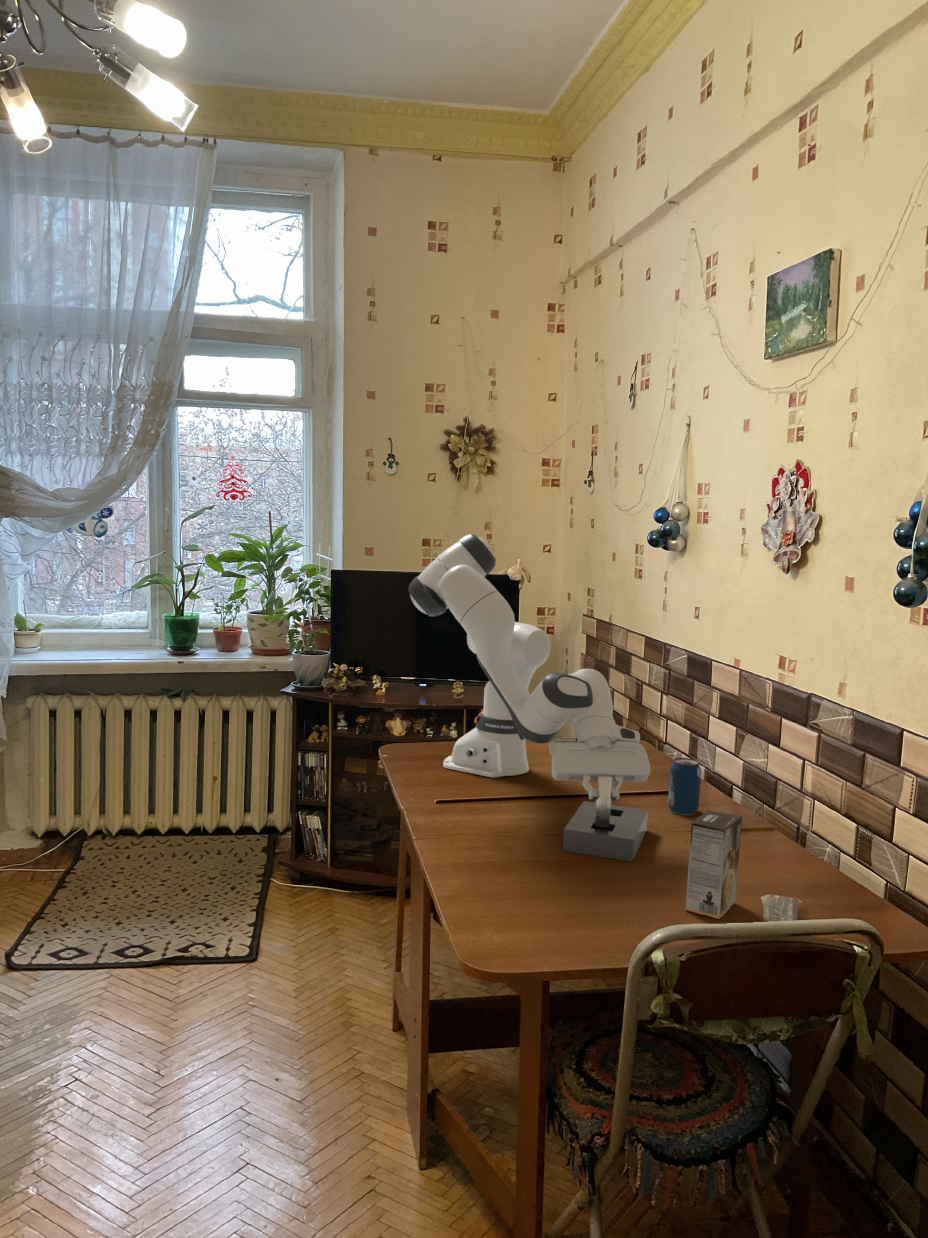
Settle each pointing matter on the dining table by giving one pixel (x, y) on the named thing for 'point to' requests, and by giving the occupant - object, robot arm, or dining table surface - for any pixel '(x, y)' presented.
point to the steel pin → (603, 801)
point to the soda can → (684, 786)
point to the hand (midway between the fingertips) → (604, 798)
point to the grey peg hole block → (606, 832)
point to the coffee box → (713, 862)
